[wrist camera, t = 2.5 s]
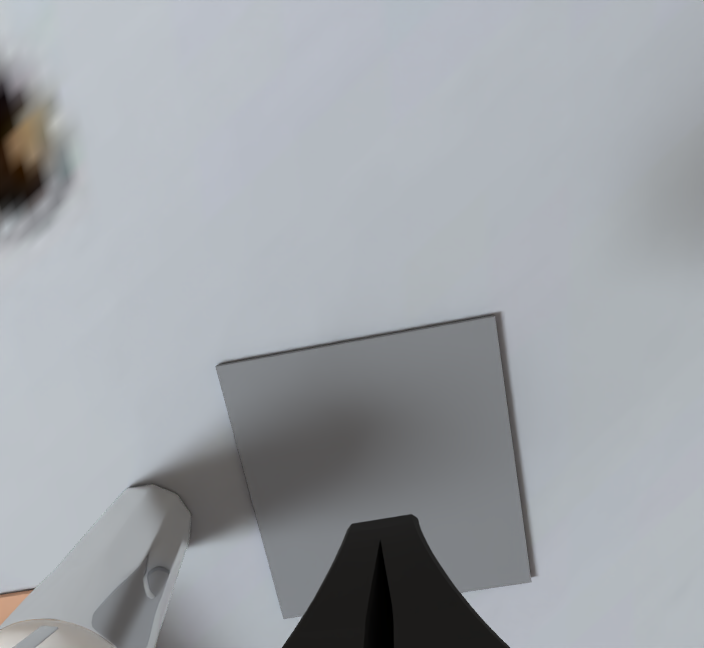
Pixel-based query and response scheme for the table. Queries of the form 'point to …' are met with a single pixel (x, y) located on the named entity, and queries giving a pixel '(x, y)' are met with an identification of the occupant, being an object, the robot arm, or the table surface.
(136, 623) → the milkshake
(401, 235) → the table surface
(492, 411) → the tile slate
